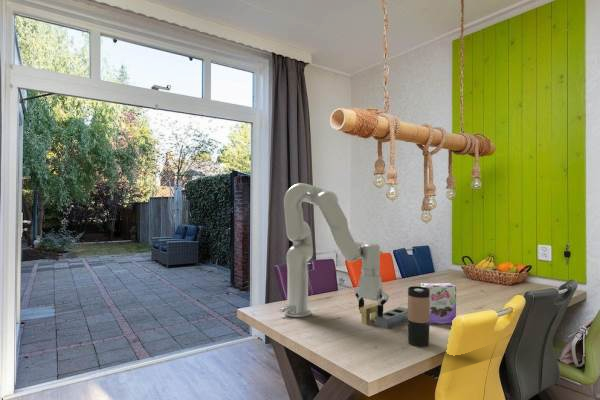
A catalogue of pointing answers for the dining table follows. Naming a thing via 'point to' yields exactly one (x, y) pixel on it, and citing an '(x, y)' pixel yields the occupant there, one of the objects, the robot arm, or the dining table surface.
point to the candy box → (441, 302)
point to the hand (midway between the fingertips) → (370, 311)
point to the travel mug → (418, 316)
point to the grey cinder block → (391, 318)
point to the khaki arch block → (368, 312)
